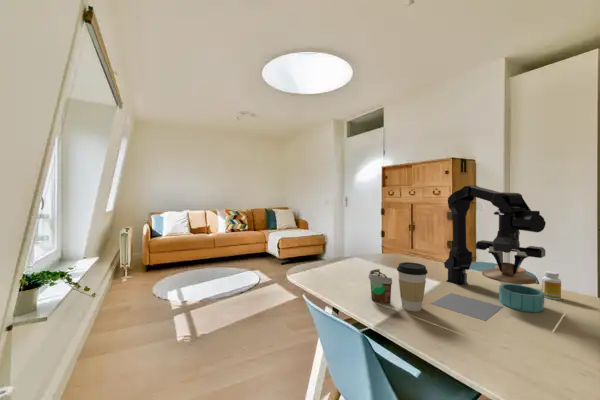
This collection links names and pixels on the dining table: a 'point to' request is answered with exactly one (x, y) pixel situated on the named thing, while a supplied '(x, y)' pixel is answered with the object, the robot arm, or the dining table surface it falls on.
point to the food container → (380, 287)
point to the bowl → (521, 297)
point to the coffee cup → (412, 285)
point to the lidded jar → (517, 271)
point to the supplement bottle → (551, 285)
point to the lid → (508, 275)
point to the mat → (467, 306)
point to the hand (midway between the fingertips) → (508, 272)
